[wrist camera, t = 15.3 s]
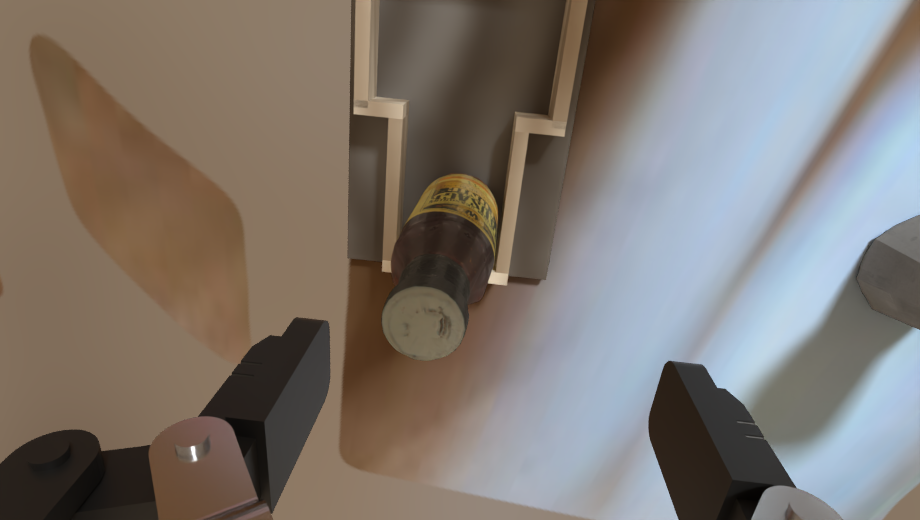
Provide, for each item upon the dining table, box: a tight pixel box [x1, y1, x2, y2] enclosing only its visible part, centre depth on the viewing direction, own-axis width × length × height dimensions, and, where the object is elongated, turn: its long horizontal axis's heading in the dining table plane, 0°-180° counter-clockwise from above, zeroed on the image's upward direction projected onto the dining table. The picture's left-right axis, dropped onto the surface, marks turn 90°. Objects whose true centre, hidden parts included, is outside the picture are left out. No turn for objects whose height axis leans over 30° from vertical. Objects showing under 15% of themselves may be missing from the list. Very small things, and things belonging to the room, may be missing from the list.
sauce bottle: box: [381, 173, 498, 361], centre depth 34 cm, size 6×6×20 cm
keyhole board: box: [348, 0, 596, 285], centre depth 39 cm, size 17×25×4 cm
